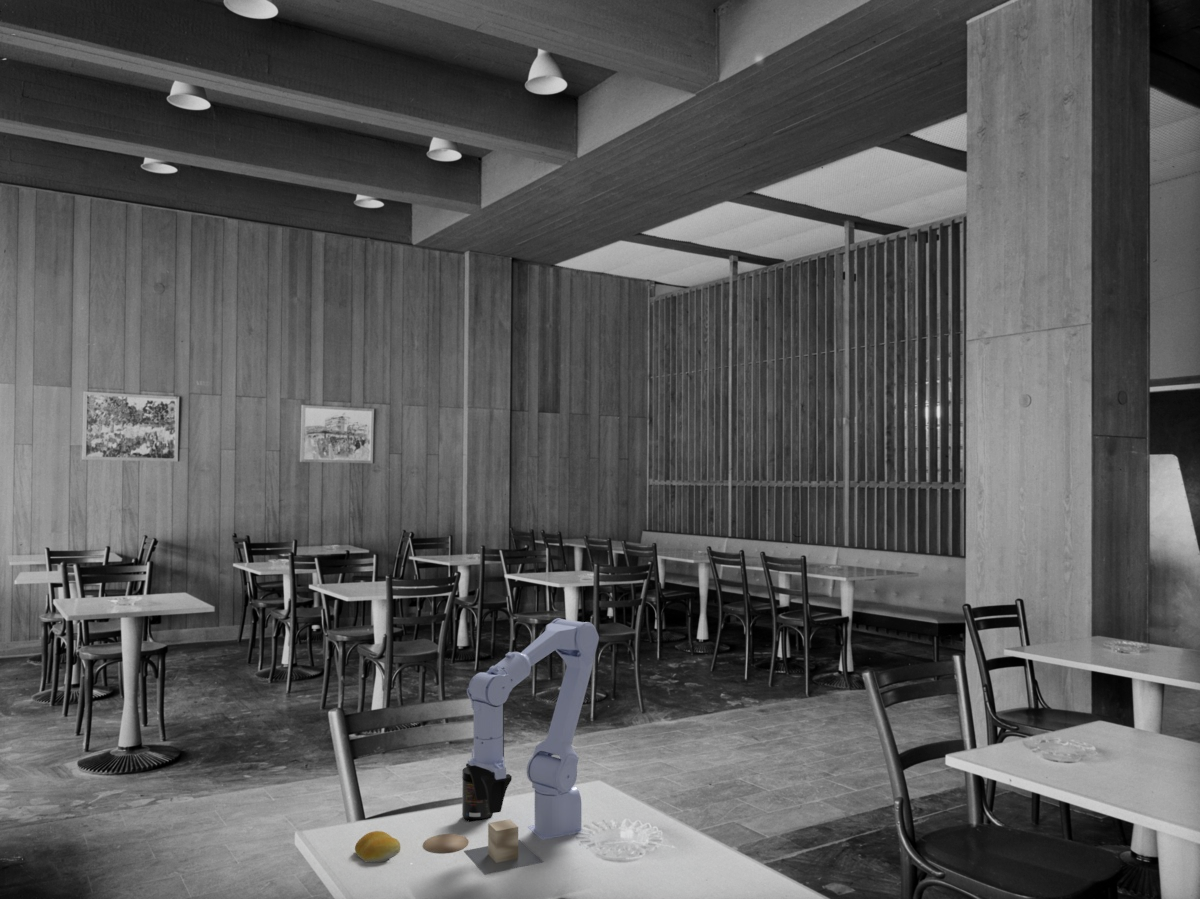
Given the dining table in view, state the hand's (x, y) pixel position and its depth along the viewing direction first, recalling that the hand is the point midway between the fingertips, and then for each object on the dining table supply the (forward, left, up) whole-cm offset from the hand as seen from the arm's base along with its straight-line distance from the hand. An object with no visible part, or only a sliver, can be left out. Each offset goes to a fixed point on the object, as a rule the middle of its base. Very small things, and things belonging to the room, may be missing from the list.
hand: (488, 805), depth 178 cm
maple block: (-2, +2, -10) cm, 10 cm away
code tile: (-2, +2, -10) cm, 11 cm away
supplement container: (-5, -21, -11) cm, 25 cm away
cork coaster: (+6, -9, -10) cm, 15 cm away
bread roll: (+19, -12, -11) cm, 25 cm away
